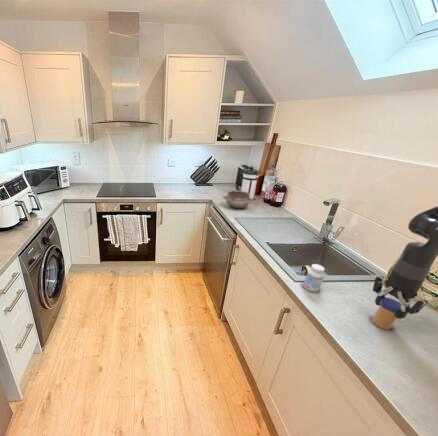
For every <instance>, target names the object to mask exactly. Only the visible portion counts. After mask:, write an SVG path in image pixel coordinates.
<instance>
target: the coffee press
mask: <svg viewBox="0 0 438 436" xmlns="http://www.w3.org/2000/svg"><path fill="white" fill-rule="evenodd" d="M259 174H260V173H259V171H258V170H257V169H254V166H250V168H246V169H244V171H243V172H242V174H240V175H238V177H237V179H236V184H235V190H238V191H245V192H248V193H249V194H250V196H249V197H250V198H254V200H256V198H255V194H256V189H257V183H258V179H259V177H260V176H259ZM241 178H242V179H241ZM240 179H241V185H240ZM239 185H240V189H239ZM254 200H253V201H254Z"/></svg>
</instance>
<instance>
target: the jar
mask: <svg viewBox="0 0 438 436" xmlns="http://www.w3.org/2000/svg"><path fill="white" fill-rule="evenodd" d="M396 315H397V313H394V312H391V311H388V310H386V309H385V308H383V307H382V306H381V305H378V307H377V309H376V311H375V312H374V315H373V317H372V319H371V321H372V323H373V324H374V325H375V326H377V327H379V328H381V329H383V330H391V328H392V327H393V325H394V324H395V322H396V320H397V318H396Z"/></svg>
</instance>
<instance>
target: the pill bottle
mask: <svg viewBox="0 0 438 436" xmlns="http://www.w3.org/2000/svg"><path fill="white" fill-rule="evenodd" d="M325 269H326V268H325V267H324V266H322V265H321V264H319V263H313V264H312V265H311V267H310V268H308V270H307V273H306V274H305V278H304V282H303V284H302V285H303V287H304V289H306V290H308V291H310V292H315V293H317V292H319V291H320V289H321V286H322V285H323V281H324V278H325Z"/></svg>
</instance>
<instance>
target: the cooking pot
mask: <svg viewBox="0 0 438 436" xmlns="http://www.w3.org/2000/svg"><path fill="white" fill-rule="evenodd" d="M249 196H250V194H249V193H248V192H245V191H238V190H237V189H234V190H228V191H227V195H226V196H224V195H222V198H223V199H224V200H225V201H226V203H227V205H229V207H231V208H233V209H237V210H239V209H243V208H245V207H248V205H250V202H253V201H254V199H255V197H254V198H250V197H249Z"/></svg>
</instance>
